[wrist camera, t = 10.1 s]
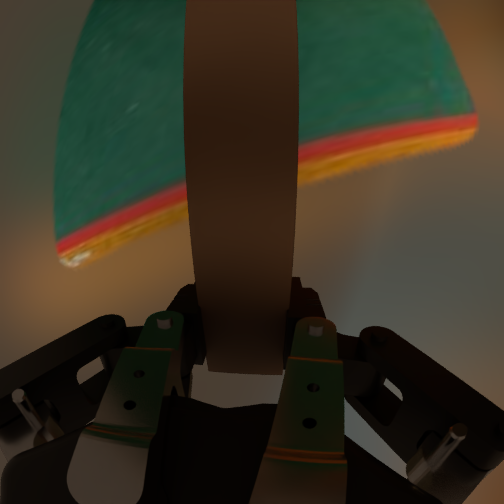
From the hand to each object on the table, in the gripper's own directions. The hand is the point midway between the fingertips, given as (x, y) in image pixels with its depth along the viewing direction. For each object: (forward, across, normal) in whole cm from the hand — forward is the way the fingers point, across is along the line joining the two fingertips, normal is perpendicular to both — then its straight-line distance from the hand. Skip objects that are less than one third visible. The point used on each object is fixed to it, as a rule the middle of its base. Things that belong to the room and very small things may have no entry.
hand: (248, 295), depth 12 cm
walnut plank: (0, 0, -7) cm, 7 cm away
